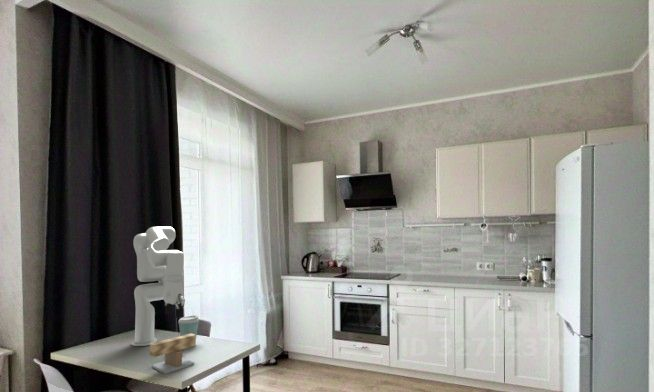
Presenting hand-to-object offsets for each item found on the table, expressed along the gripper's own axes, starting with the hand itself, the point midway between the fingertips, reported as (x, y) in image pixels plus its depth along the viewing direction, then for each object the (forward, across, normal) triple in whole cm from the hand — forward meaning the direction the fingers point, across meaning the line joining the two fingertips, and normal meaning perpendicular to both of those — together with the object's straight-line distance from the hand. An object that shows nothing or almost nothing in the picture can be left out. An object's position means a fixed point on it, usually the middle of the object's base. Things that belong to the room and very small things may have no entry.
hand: (173, 315), depth 177 cm
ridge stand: (+22, +1, 0) cm, 22 cm away
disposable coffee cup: (+23, -21, +20) cm, 37 cm away
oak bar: (+15, +1, 0) cm, 15 cm away
